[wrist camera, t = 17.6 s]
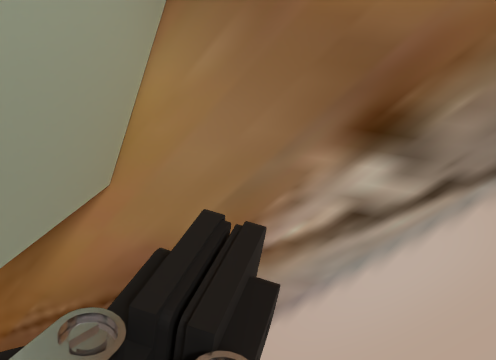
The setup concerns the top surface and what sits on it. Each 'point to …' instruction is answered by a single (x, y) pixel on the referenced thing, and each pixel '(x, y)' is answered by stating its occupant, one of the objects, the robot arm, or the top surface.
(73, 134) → the door
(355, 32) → the top surface
